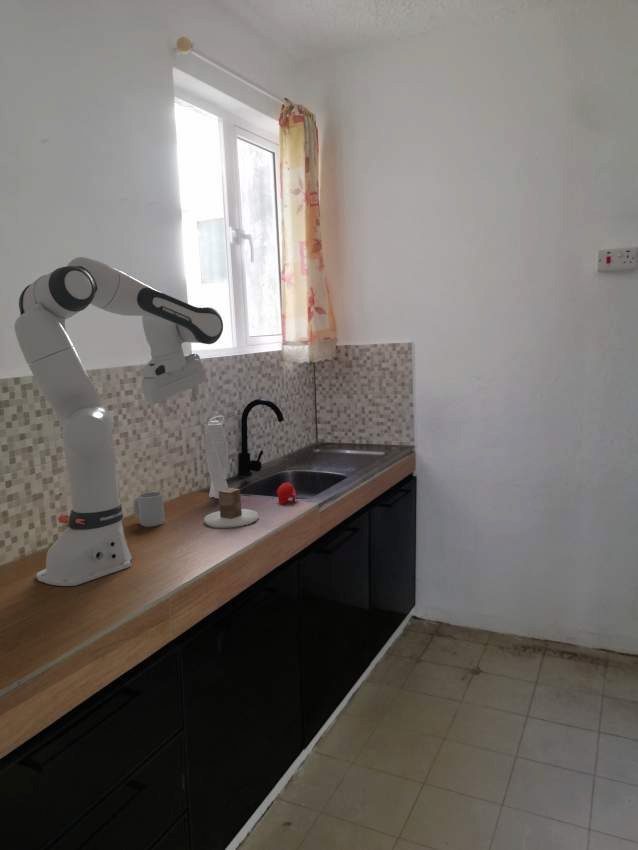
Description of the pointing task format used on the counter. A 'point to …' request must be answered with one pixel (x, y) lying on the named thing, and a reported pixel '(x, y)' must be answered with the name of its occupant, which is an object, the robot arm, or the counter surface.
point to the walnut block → (230, 503)
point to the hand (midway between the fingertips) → (182, 407)
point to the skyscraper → (216, 456)
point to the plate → (242, 520)
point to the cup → (150, 509)
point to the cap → (286, 493)
